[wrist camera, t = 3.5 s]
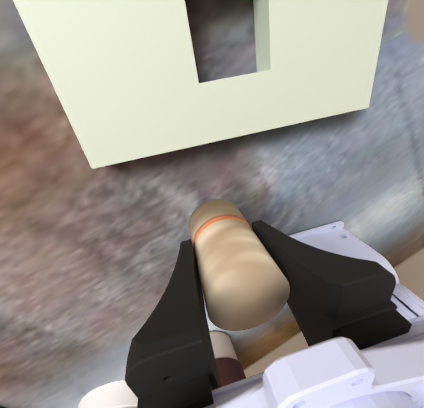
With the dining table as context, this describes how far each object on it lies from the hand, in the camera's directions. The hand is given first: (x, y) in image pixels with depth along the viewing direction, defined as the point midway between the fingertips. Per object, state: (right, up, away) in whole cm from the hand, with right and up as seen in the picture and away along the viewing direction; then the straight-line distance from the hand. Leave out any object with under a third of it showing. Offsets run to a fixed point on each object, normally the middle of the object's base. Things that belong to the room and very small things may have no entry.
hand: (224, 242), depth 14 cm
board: (0, +15, +2) cm, 15 cm away
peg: (-1, +1, +2) cm, 2 cm away
